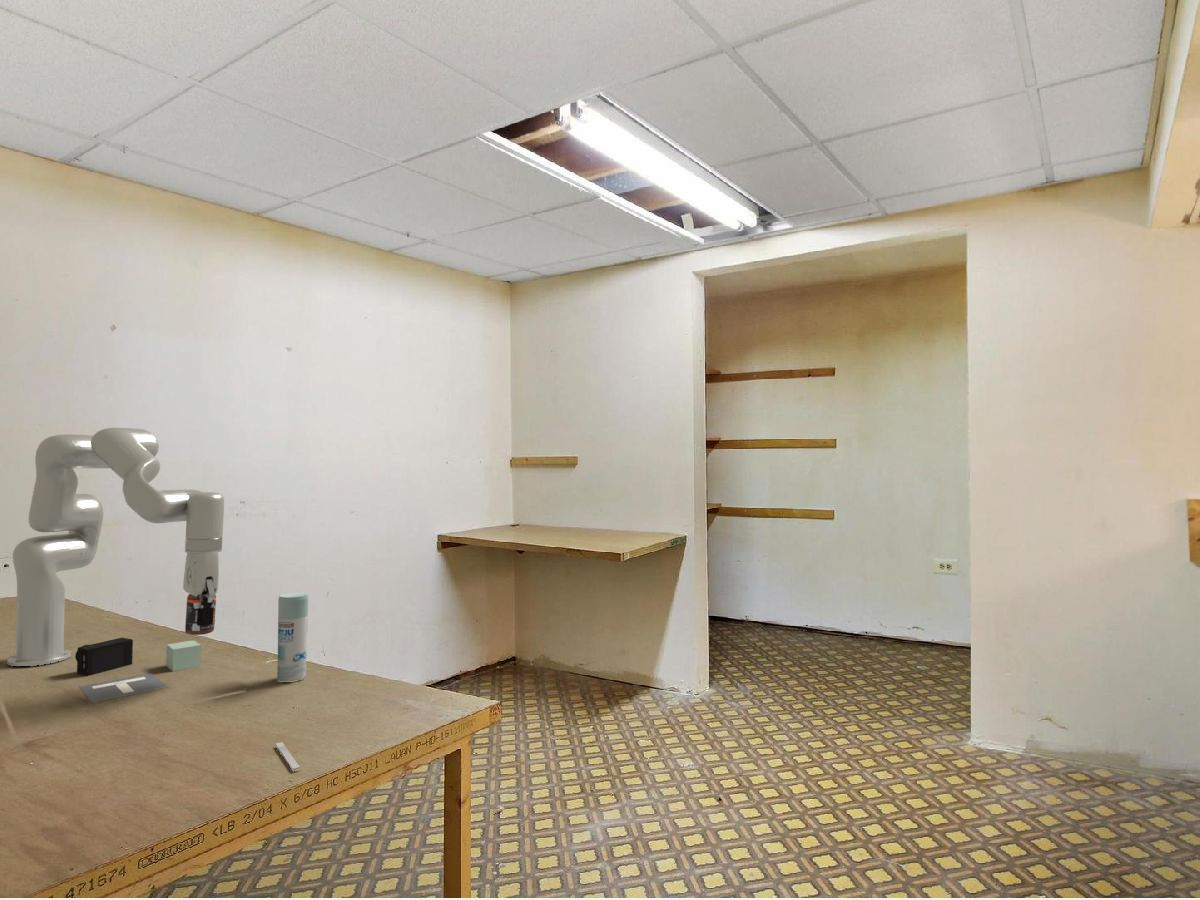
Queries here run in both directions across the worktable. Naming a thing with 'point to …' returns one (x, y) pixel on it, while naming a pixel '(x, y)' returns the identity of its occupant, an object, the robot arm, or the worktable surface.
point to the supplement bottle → (191, 617)
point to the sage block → (183, 655)
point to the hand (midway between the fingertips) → (200, 621)
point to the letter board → (122, 687)
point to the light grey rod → (287, 756)
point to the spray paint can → (292, 636)
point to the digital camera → (104, 656)
